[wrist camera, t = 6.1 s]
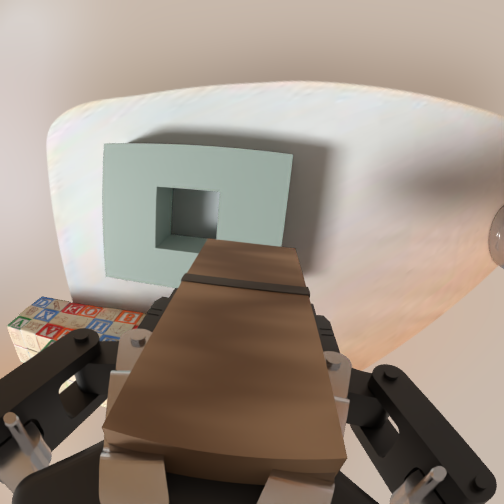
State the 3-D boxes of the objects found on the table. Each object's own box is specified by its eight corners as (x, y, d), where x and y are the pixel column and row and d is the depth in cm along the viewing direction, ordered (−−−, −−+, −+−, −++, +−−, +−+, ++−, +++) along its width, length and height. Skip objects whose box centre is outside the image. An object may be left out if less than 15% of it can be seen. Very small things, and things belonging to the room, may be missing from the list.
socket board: (290, 153, 30) (293, 154, 25) (273, 280, 35) (273, 301, 30) (126, 143, 31) (104, 143, 26) (125, 260, 35) (105, 276, 31)
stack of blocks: (51, 329, 41) (8, 372, 29) (42, 295, 39) (-8, 335, 27) (170, 353, 39) (140, 418, 28) (166, 315, 37) (129, 377, 26)
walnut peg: (296, 247, 16) (350, 456, 4) (283, 323, 17) (296, 529, 6) (207, 237, 16) (98, 425, 4) (203, 314, 17) (138, 510, 6)
